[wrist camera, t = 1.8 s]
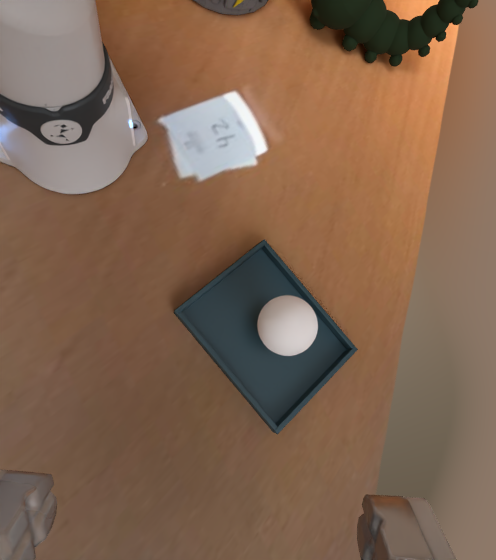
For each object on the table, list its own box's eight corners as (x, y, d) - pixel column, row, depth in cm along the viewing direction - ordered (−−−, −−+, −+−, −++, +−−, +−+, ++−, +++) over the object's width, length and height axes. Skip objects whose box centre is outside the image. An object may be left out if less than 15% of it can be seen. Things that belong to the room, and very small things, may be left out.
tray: (173, 312, 46) (174, 310, 44) (260, 243, 51) (264, 239, 49) (273, 432, 45) (277, 434, 44) (351, 350, 50) (357, 349, 49)
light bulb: (239, 354, 46) (263, 350, 36) (245, 303, 48) (270, 284, 38) (288, 361, 48) (326, 358, 37) (293, 311, 49) (330, 295, 39)
